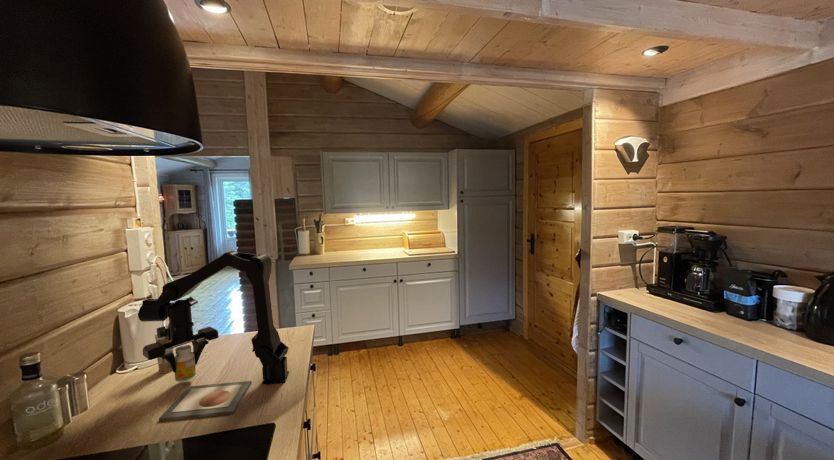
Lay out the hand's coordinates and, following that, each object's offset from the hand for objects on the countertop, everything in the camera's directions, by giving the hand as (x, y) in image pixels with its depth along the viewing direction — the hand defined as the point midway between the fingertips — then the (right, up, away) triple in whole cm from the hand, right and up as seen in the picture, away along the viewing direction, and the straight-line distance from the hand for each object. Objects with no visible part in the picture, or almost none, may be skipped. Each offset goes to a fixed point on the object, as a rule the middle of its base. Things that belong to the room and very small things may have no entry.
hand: (185, 368), depth 106 cm
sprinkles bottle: (-12, -4, +8) cm, 15 cm away
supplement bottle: (0, -3, 0) cm, 3 cm away
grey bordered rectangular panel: (+13, -6, -9) cm, 17 cm away
